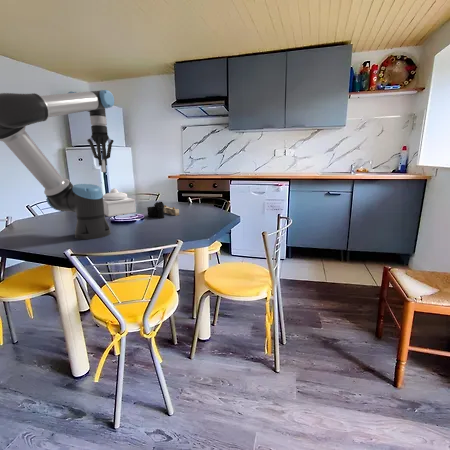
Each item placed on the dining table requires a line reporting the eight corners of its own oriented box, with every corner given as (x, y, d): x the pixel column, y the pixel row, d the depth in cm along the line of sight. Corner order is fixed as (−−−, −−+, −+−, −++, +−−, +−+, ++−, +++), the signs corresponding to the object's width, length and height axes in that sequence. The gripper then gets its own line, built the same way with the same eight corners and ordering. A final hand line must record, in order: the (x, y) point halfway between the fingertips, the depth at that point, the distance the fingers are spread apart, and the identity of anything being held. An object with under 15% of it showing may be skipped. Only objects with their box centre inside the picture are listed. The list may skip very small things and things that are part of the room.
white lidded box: (125, 209, 196) (123, 186, 192) (136, 212, 182) (134, 188, 178) (99, 212, 185) (96, 188, 181) (108, 216, 171) (105, 190, 167)
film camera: (147, 214, 175) (146, 200, 173) (163, 213, 178) (162, 199, 176) (148, 219, 161) (146, 204, 159) (165, 218, 164) (164, 203, 161)
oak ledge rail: (179, 215, 173) (178, 207, 171) (175, 215, 171) (175, 208, 170) (164, 211, 186) (163, 204, 185) (161, 211, 184) (160, 204, 183)
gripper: (109, 127, 152) (113, 171, 157) (83, 125, 144) (88, 172, 150) (114, 125, 146) (118, 171, 152) (87, 123, 138) (92, 172, 144)
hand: (103, 171), depth 151 cm, fingers closed
